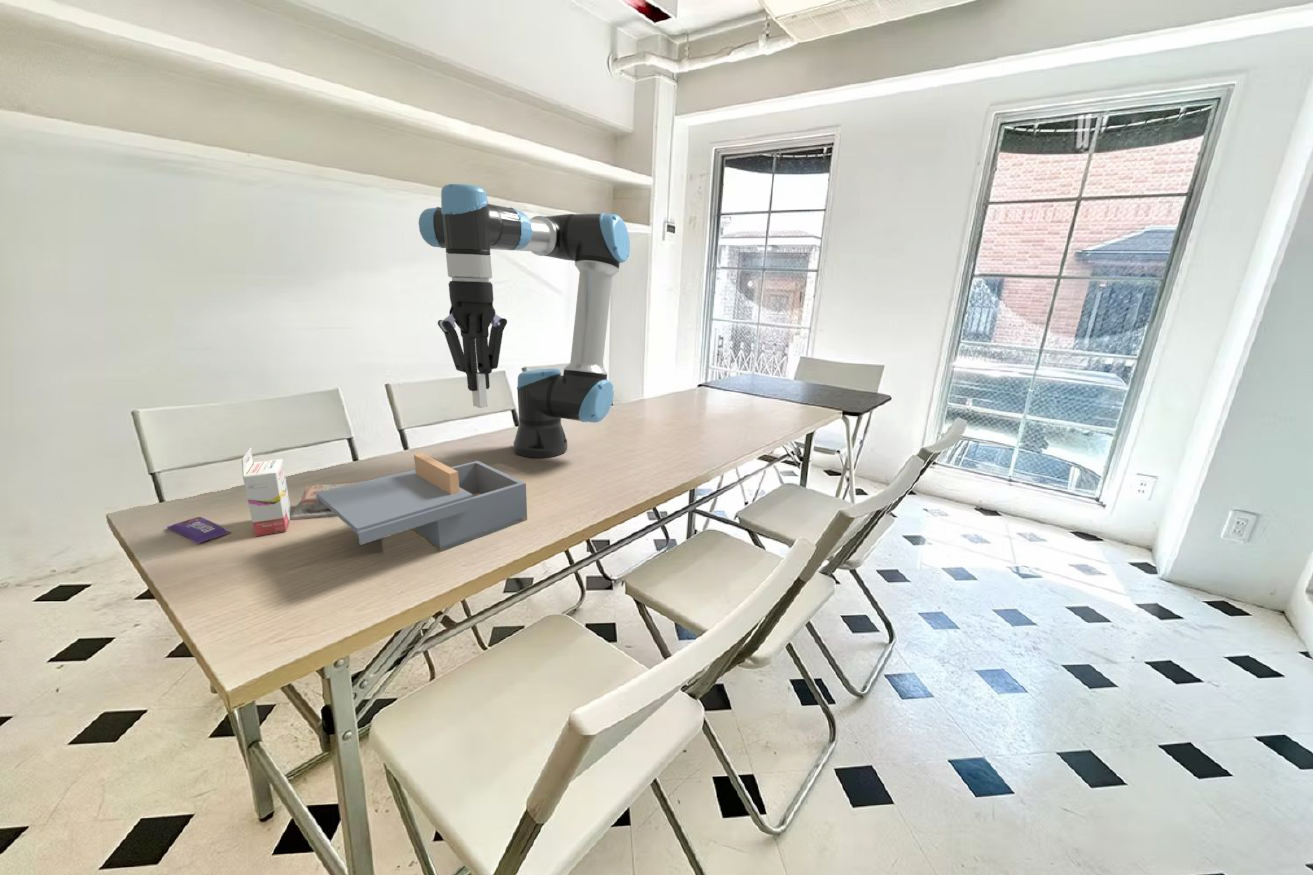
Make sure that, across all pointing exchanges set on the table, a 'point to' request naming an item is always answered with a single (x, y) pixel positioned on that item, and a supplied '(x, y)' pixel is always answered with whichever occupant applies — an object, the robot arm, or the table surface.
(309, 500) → the packaged product
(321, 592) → the table surface
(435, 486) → the lid
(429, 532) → the open gray box
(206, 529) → the snack package
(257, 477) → the ink cartridge box
